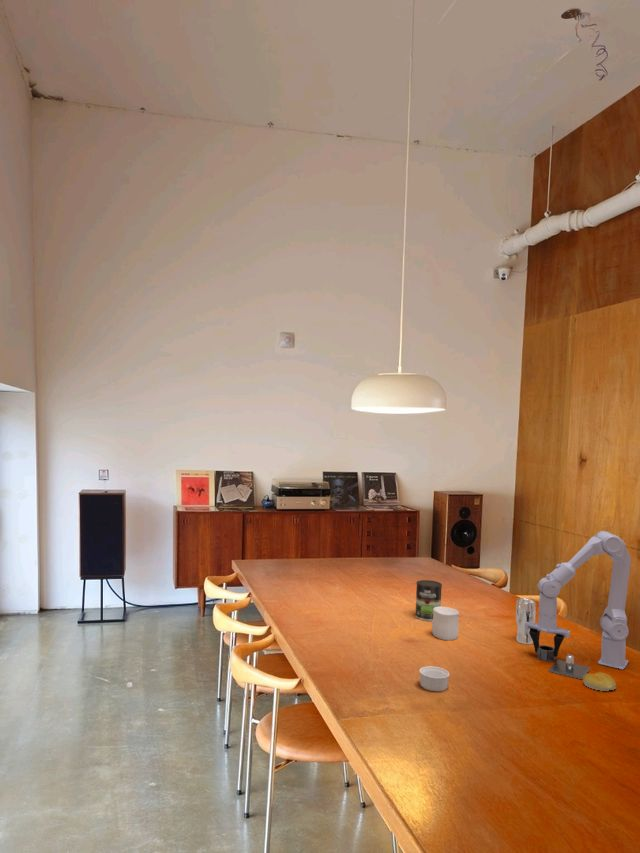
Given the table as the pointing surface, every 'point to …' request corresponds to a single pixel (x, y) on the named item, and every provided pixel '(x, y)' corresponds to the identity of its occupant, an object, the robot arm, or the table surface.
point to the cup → (445, 623)
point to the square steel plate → (569, 668)
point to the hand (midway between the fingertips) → (546, 653)
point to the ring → (545, 653)
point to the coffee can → (427, 599)
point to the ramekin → (434, 678)
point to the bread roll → (599, 681)
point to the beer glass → (525, 619)
